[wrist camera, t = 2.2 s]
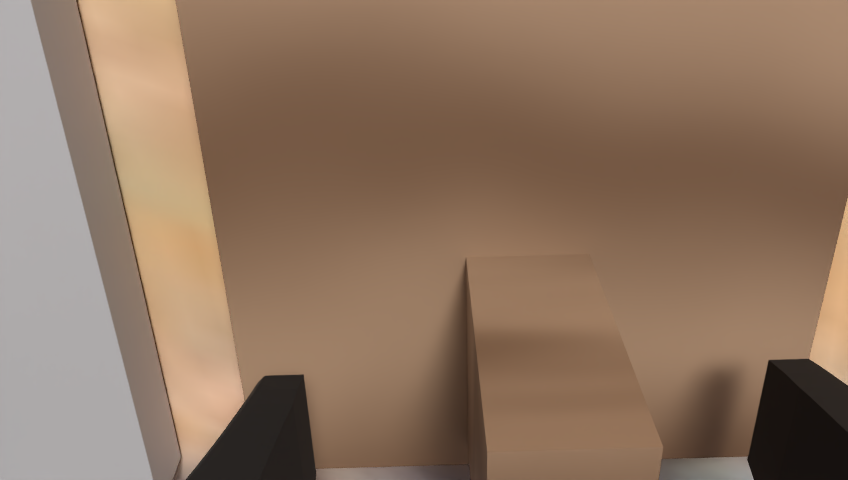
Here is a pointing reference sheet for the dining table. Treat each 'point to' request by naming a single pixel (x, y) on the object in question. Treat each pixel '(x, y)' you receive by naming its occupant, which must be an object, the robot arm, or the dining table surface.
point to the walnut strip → (523, 218)
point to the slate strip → (69, 273)
